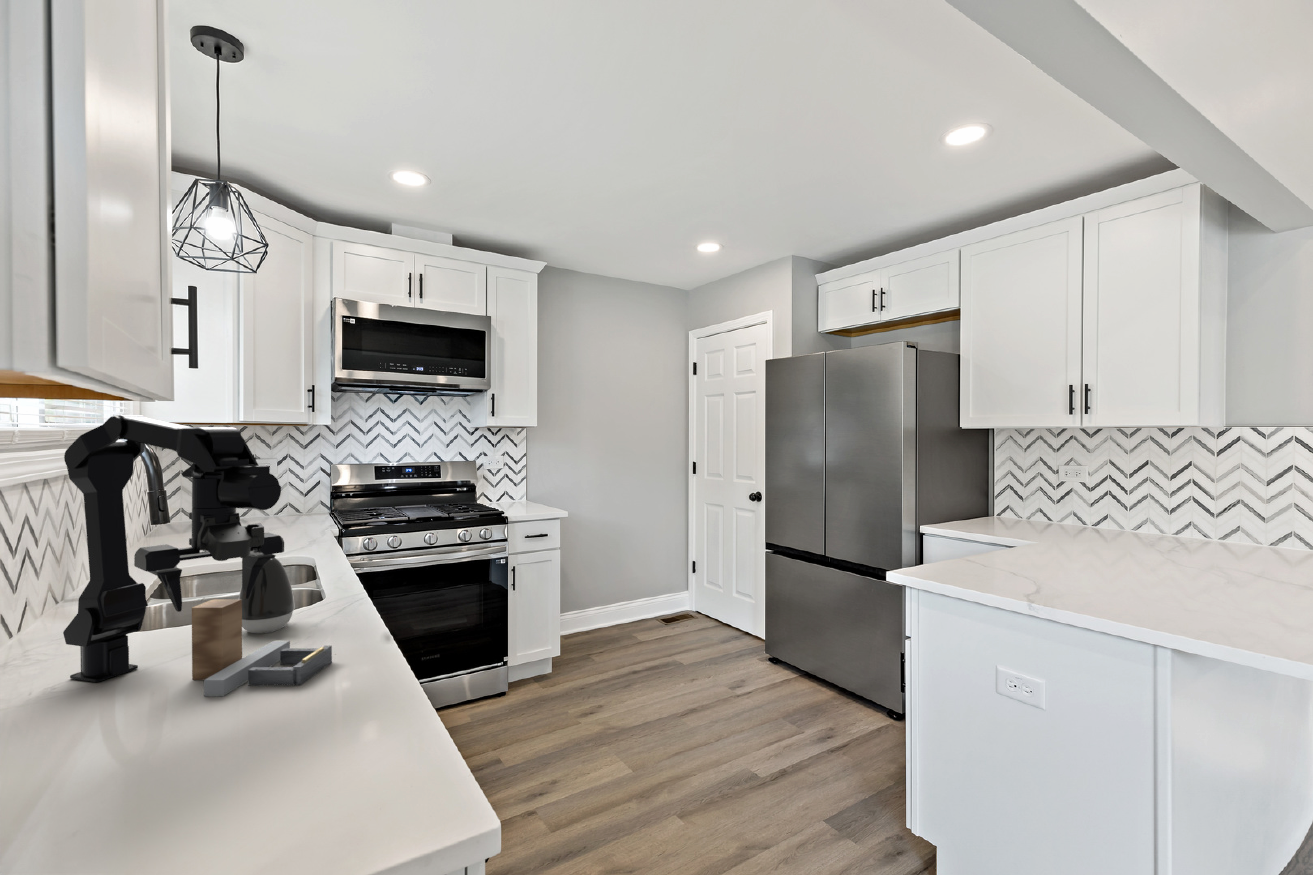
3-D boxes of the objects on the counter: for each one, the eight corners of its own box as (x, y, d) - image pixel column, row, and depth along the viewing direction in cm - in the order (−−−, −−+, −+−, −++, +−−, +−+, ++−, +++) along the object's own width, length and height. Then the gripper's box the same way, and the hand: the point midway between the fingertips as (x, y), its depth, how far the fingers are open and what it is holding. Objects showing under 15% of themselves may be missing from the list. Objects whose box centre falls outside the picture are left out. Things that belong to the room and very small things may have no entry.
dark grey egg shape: (280, 618, 136) (280, 549, 136) (303, 627, 130) (303, 555, 130) (227, 631, 128) (227, 557, 128) (249, 641, 122) (248, 563, 122)
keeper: (248, 685, 101) (248, 664, 101) (284, 662, 111) (284, 643, 111) (300, 685, 101) (300, 664, 101) (331, 662, 111) (331, 643, 111)
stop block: (192, 679, 104) (191, 607, 103) (213, 668, 109) (212, 599, 108) (222, 679, 104) (222, 607, 103) (242, 667, 109) (241, 599, 108)
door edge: (203, 696, 97) (203, 680, 97) (273, 654, 115) (273, 640, 115) (223, 696, 97) (223, 680, 97) (289, 654, 115) (289, 640, 115)
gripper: (160, 518, 86) (159, 630, 87) (300, 505, 102) (299, 600, 102) (133, 510, 93) (132, 614, 93) (269, 499, 108) (268, 589, 108)
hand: (213, 604), depth 99 cm, fingers open, 9 cm apart
